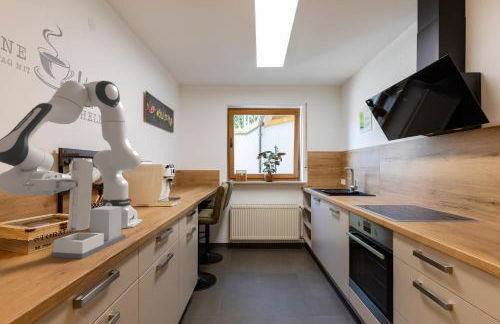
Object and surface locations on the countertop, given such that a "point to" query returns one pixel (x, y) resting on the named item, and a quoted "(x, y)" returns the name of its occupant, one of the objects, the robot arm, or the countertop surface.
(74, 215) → the white upright block
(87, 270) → the countertop surface
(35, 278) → the countertop surface
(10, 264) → the countertop surface
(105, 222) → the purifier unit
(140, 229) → the countertop surface
